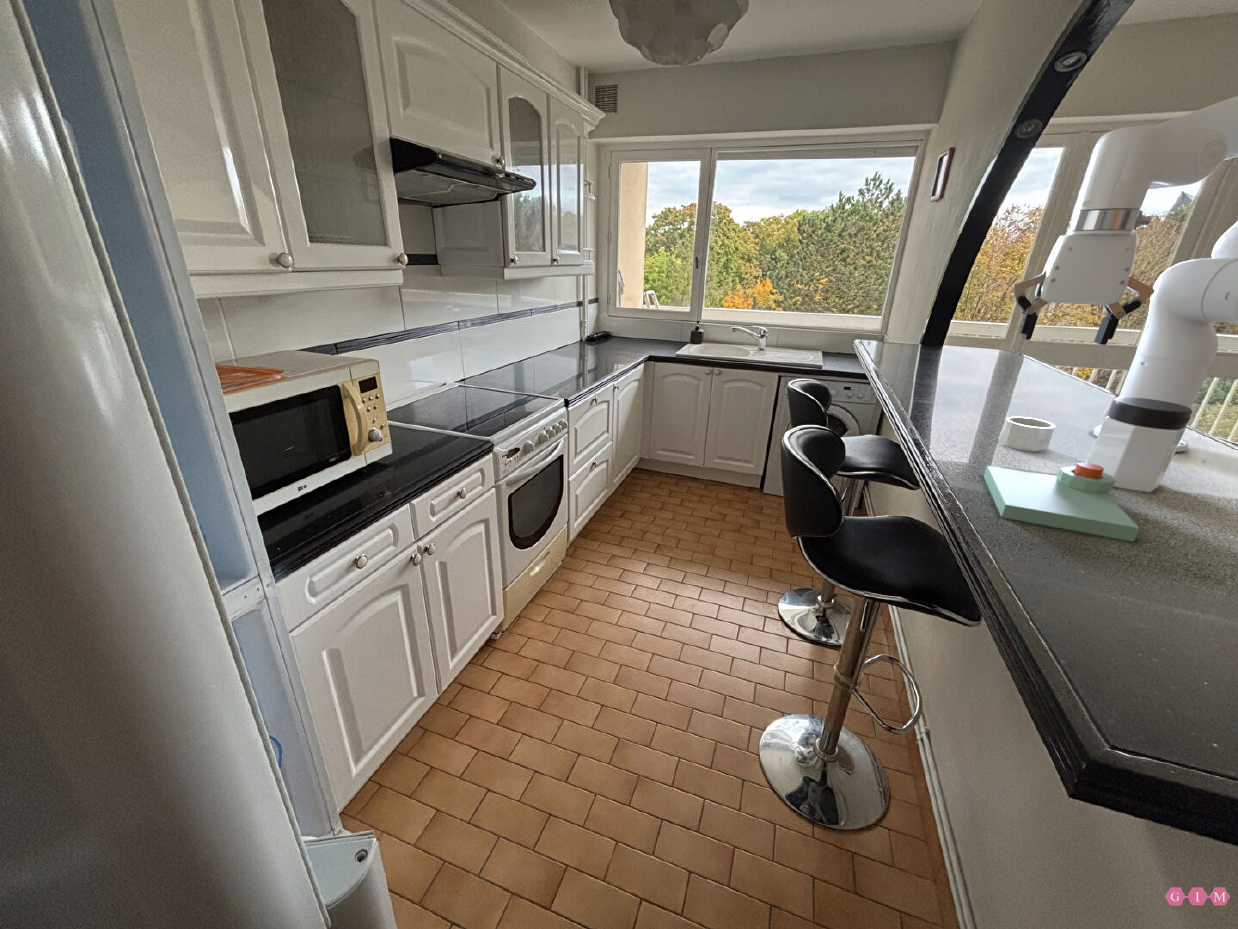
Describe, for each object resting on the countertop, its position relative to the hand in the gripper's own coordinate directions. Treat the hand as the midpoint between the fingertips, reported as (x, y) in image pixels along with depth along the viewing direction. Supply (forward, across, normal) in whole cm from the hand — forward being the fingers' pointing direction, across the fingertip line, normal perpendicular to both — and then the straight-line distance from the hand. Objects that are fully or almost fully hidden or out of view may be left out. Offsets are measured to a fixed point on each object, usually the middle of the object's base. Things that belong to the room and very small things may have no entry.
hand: (1061, 341), depth 82 cm
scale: (+19, +2, +26) cm, 32 cm away
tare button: (+16, -3, +20) cm, 26 cm away
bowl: (+19, 0, -2) cm, 19 cm away
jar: (+19, -10, +10) cm, 24 cm away
